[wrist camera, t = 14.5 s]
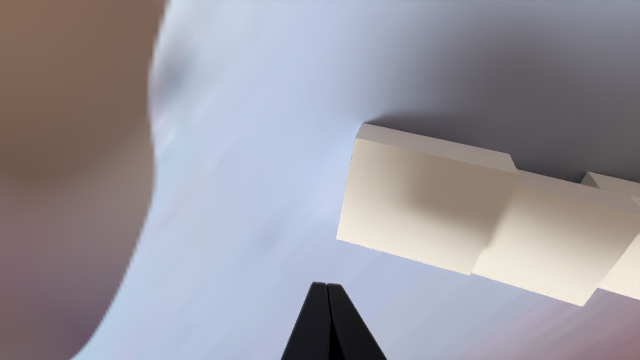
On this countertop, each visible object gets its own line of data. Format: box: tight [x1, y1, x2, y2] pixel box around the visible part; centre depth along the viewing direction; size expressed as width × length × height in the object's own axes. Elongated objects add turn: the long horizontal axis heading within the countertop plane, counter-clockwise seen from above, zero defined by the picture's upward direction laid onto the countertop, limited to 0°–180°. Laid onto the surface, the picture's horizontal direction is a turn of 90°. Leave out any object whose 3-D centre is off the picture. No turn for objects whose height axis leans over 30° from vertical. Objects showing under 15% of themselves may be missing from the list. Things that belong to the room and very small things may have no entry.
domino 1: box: [336, 123, 519, 276], centre depth 13 cm, size 2×5×5 cm
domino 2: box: [471, 169, 640, 307], centre depth 14 cm, size 2×5×5 cm
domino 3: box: [580, 171, 640, 300], centre depth 15 cm, size 2×5×5 cm
